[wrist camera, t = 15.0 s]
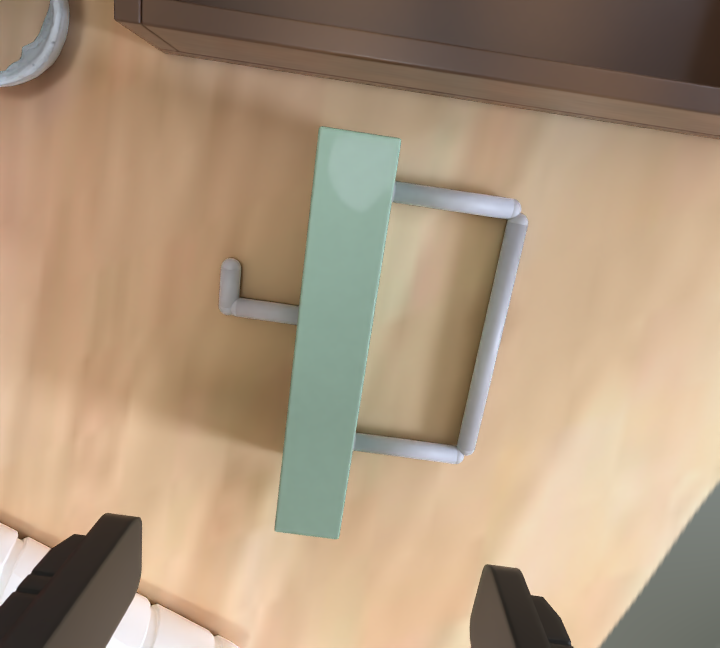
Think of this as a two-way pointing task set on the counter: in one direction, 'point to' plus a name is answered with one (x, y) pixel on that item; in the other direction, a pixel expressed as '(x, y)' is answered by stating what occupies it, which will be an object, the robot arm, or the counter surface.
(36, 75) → the ceramic mug
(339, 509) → the hanger
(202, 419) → the counter surface
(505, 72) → the tray
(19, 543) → the unicorn horn
